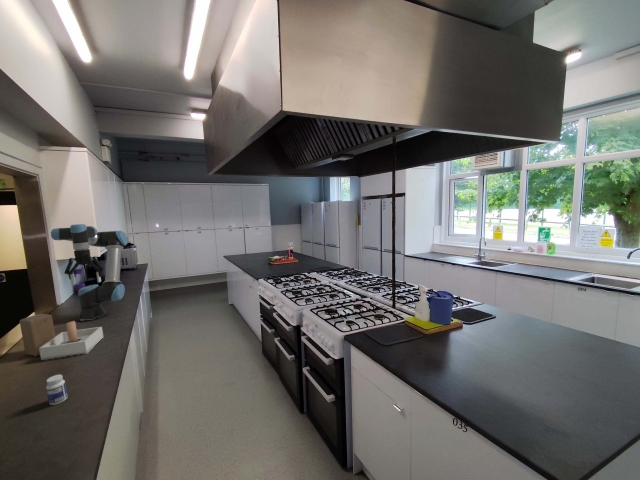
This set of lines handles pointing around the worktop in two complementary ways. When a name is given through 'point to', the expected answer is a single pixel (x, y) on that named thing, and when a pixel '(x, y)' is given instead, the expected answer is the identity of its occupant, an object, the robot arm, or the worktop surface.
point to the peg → (72, 332)
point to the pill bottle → (56, 390)
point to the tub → (71, 344)
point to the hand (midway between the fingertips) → (86, 283)
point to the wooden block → (36, 332)
